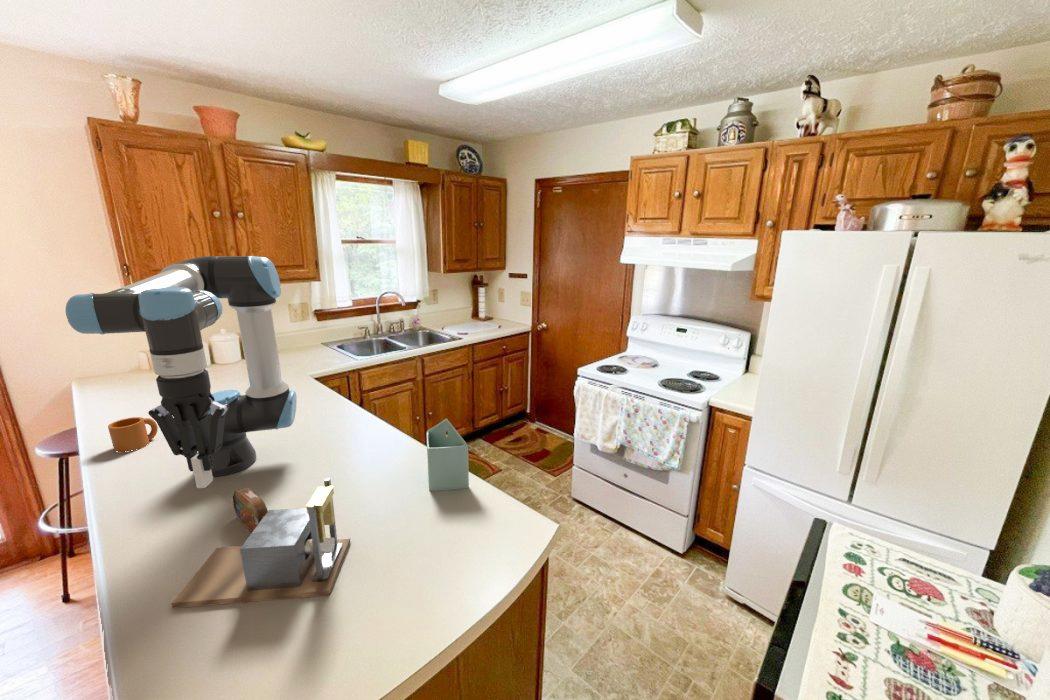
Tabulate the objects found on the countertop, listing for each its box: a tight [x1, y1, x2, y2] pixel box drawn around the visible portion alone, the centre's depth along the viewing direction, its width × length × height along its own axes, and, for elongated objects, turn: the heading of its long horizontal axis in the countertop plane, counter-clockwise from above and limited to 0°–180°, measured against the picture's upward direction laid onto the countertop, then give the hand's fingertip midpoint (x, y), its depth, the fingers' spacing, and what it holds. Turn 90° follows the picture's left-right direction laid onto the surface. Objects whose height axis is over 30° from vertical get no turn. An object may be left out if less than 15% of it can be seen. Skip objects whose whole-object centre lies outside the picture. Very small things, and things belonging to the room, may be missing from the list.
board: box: [170, 538, 351, 609], centre depth 89 cm, size 29×15×1 cm, turn 97°
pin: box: [304, 537, 335, 555], centre depth 88 cm, size 16×6×6 cm, turn 97°
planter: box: [426, 418, 470, 492], centre depth 120 cm, size 16×8×20 cm, turn 57°
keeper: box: [305, 485, 335, 543], centre depth 87 cm, size 3×7×9 cm, turn 7°
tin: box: [232, 487, 269, 533], centre depth 103 cm, size 15×3×8 cm, turn 54°
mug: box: [107, 416, 159, 452], centre depth 140 cm, size 9×12×9 cm
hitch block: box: [240, 477, 342, 591], centre depth 87 cm, size 15×12×18 cm
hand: (205, 483), depth 82 cm, fingers closed
